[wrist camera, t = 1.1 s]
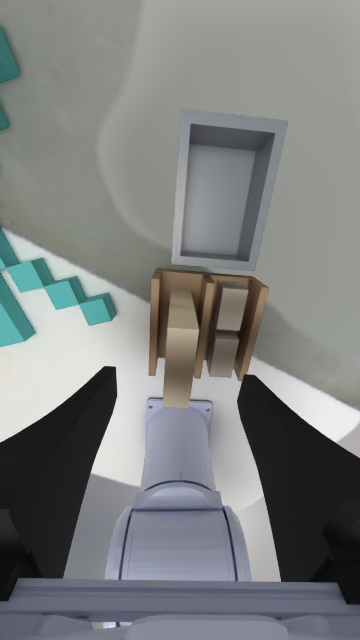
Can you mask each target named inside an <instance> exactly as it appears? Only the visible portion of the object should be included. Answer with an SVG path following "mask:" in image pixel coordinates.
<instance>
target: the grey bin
mask: <svg viewBox="0 0 360 640" xmlns="http://www.w3.org/2000/svg"><path fill="white" fill-rule="evenodd" d="M287 125H288V121H285V120H277V119H268V118H259V117H250V116H242V115H233V114H224V113H216V112H207V111H198V110H189V109H181V119H180V134H179V135H180V136H179V150H178V165H177V181H176V197H175V214H174V228H173V229H174V230H173V243H172V259H171V264H178V265H190V266H202V267H214V268H227V269H239V270H251V271H255V268H256V263H257V259H258V254H259V250H260V245H261V241H262V237H263V232H264V227H265V223H266V218H267V214H268V210H269V205H270V201H271V196H272V192H273V188H274V183H275V178H276V174H277V170H278V165H279V161H280V156H281V151H282V148H283V143H284V139H285V134H286V130H287Z"/></svg>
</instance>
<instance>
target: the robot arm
mask: <svg viewBox="0 0 360 640" xmlns="http://www.w3.org/2000/svg"><path fill="white" fill-rule="evenodd" d="M116 398H117V381H116V367H111V366H104V367H103V368H102V369H101V370H100V371H99V372H98V373H96V374H95V375H94V376H93V377H92V378H91V379H90V380H89V381H88V382H87V383H86V384H85V385H84V386H82V387H81V388H80V389H79V390H78V391H77V392H76V393H74V394H73V395H72V396H71V397H69V398H68V399H67V400H66V401H65V402H63V403H62V404H61V405H59V406H58V407H57V408H56V409H54V410H53V411H51V412H50V413H48V414H47V415H46V416H44V417H43V418H41V419H40V420H38V421H36V422H35V423H33V424H32V425H30V426H28V427H27V428H25V429H23V430H22V431H20V432H19V433H17V434H15V435H13V436H12V437H10V438H8V439H6V440H4V441H2V442H1V443H0V640H360V458H359V457H357V456H355V455H354V454H352V453H351V452H349V451H347V450H346V449H344V448H343V447H341V446H340V445H338V444H337V443H335V442H334V441H332V440H331V439H329V438H328V437H326V436H325V435H323V434H322V433H320V432H319V431H318V430H316V429H315V428H314V427H312V426H311V425H310V424H308V423H307V422H306V421H305V420H303V419H302V418H301V417H300V416H299V415H297V414H296V413H295V412H294V411H293V410H291V409H290V408H289V407H288V406H287V405H286V404H285V403H284V402H282V401H281V400H280V399H279V398H278V397H277V396H276V395H275V394H274V393H273V392H272V391H271V390H270V389H269V388H268V387H267V386H266V385H265V384H264V383H263V382H262V381H261V380H259V379H258V378H257V377H256V376H255V375H247V374H244V376H243V380H242V384H241V388H240V392H239V396H238V399H237V404H238V409H239V414H240V418H241V422H242V425H243V427H244V430H245V433H246V436H247V439H248V442H249V445H250V448H251V451H252V453H253V456H254V459H255V462H256V466H257V469H258V473H259V477H260V481H261V485H262V489H263V493H264V497H265V502H266V506H267V510H268V515H269V519H270V525H271V529H272V534H273V539H274V544H275V550H276V555H277V560H278V566H279V571H280V577H281V582H252V579H251V571H250V565H249V559H248V553H247V548H246V543H245V539H244V534H243V531H242V527H241V524H240V521H239V519H238V517H237V516H236V515H235V513H234V512H233V511H232V509H231V508H230V507H229V506H222V501H221V495H220V492H219V491H216V490H215V483H214V476H213V469H212V462H211V455H210V448H209V441H208V429H209V424H210V418H211V413H212V408H213V405H212V403H211V402H203V401H190V402H189V408H177V407H162V405H163V399H148V400H147V413H146V452H145V459H144V466H143V474H142V481H141V488H140V492H136V495H135V501H134V507H126V508H125V510H124V512H123V513H122V514H121V515H120V517H119V518H118V520H117V522H116V525H115V528H114V531H113V536H112V540H111V544H110V549H109V554H108V560H107V566H106V573H105V579H63V576H64V571H65V567H66V563H67V559H68V555H69V550H70V547H71V543H72V539H73V535H74V531H75V527H76V523H77V520H78V516H79V512H80V508H81V504H82V501H83V497H84V494H85V490H86V487H87V483H88V480H89V476H90V473H91V470H92V466H93V463H94V460H95V457H96V454H97V452H98V449H99V447H100V444H101V441H102V439H103V436H104V434H105V431H106V429H107V426H108V424H109V421H110V418H111V416H112V413H113V410H114V406H115V402H116ZM91 622H103V628H102V629H93V630H92V628H93V626H92V624H91Z"/></svg>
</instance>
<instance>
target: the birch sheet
mask: <svg viewBox="0 0 360 640" xmlns="http://www.w3.org/2000/svg"><path fill="white" fill-rule="evenodd" d="M198 335H199V327H198V322H197V317H196V312H195V308H194V303H193V298H192V293H191V290H182V289H171V296H170V307H169V317H168V328H167V344H166V359H165V374H164V390H163V405H162V407H177V408H189V402H190V395H191V387H192V380H193V372H194V365H195V357H196V350H197V342H198Z"/></svg>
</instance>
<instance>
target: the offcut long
mask: <svg viewBox="0 0 360 640" xmlns="http://www.w3.org/2000/svg"><path fill="white" fill-rule="evenodd" d="M238 343H239V339H238V337H237V335H236V333H235V331H234V330H221V329H216V327H215V324H211V326H210V333H209V339H208V346H207V352H206V362H207V367H208V372H209V376H210V377H227V378H231V375H232V370H233V366H234V361H235V357H236V352H237V348H238Z"/></svg>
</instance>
